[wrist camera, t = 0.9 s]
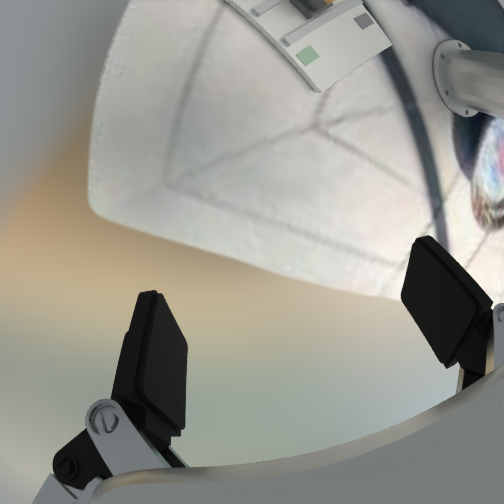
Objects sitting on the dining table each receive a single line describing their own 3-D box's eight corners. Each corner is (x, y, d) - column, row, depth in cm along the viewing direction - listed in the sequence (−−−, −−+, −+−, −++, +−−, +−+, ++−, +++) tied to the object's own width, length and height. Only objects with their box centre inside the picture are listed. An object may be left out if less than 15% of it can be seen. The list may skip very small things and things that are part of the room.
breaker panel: (287, -55, 14) (295, -68, 11) (383, 45, 22) (399, 43, 19) (207, -13, 17) (206, -25, 14) (315, 92, 26) (327, 93, 23)
